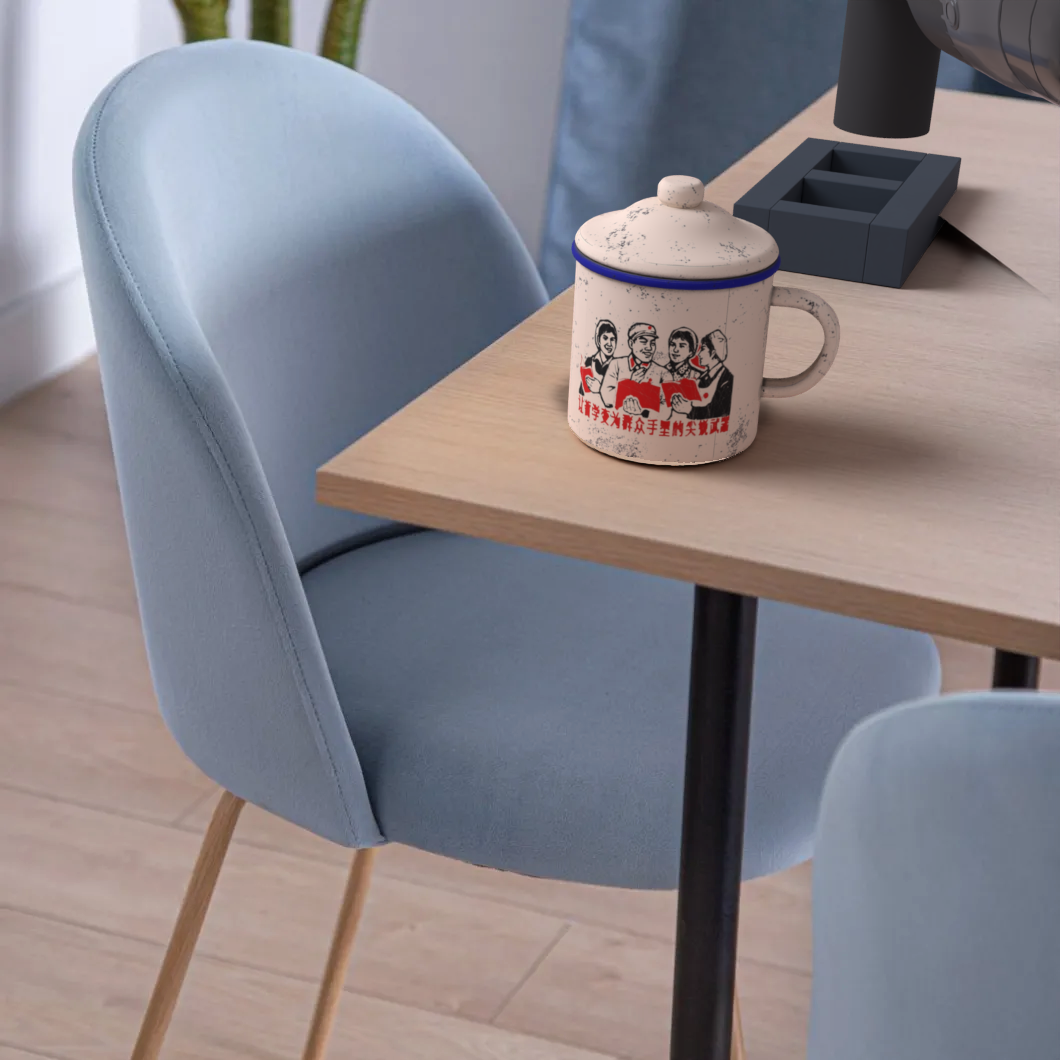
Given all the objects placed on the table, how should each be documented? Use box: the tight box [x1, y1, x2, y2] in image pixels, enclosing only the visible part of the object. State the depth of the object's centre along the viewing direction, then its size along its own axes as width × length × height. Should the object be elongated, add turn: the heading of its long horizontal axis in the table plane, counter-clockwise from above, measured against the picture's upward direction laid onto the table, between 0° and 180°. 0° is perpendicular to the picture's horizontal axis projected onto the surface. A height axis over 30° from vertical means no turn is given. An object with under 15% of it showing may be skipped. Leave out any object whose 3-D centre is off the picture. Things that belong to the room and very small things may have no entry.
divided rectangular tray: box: [732, 136, 962, 289], centre depth 109 cm, size 10×18×4 cm, turn 158°
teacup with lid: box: [567, 174, 841, 463], centre depth 78 cm, size 12×9×12 cm
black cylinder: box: [832, 0, 942, 140], centre depth 83 cm, size 5×5×11 cm
